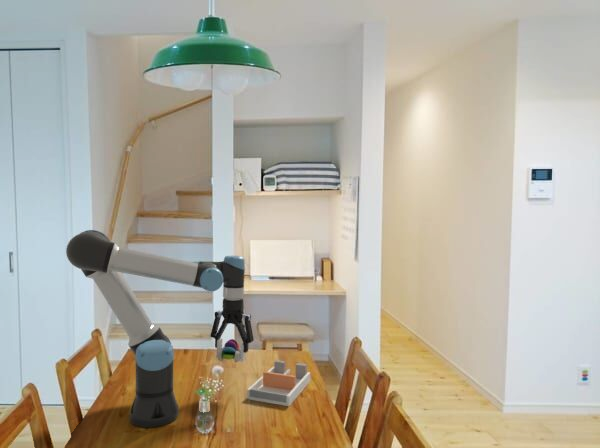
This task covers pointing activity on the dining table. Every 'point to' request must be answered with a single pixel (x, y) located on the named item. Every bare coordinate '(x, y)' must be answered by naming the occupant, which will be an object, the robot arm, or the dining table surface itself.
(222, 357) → the multicolored domed toy
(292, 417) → the dining table surface
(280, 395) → the grey tray
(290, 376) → the pusher
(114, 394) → the dining table surface
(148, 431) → the dining table surface
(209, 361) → the dining table surface
